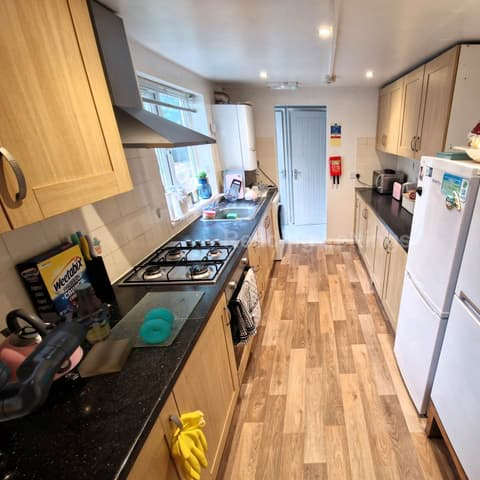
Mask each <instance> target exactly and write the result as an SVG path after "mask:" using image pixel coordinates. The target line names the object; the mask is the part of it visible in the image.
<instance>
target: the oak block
mask: <svg viewBox="0 0 480 480" xmlns="http://www.w3.org/2000/svg"><path fill="white" fill-rule="evenodd" d="M133 349H134V345H133V341H132V339H131V337H129V338H124V339H117V340H110V341H102V342H100V343H93V345H92V347H91V349H90V350H89V352H87V354H86V356H85V357H84V359H83V360H82V361H81V363H80V364H79V366H77V372H78V373H79V375H80V377H81V379H83V378H88V377H94V376H98V375H105V374H110V373H115V372H121V371H122V370H123V367H124V366H125V364H126V362H127V360H128V357H129V356H130V354H131V353H132V350H133Z"/></svg>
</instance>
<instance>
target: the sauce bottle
mask: <svg viewBox="0 0 480 480" xmlns="http://www.w3.org/2000/svg"><path fill="white" fill-rule="evenodd" d="M73 292H74V293H75V294H76V297H77V307H76V308H77V314H78V318H81V317H84V316H86V315H88V314H89V313H91V312H92V313H94V312H96V311H97V310H98V309H99V308H100V307H101V305H102V304H103V303H102V300H100V298H98V297H96V296H95V293H94V291H93V286H92V283H91V282H82V283H79V284H77V285H75V286H74V287H73ZM98 316H99V314H97V317H98ZM90 319H91V317H90ZM91 320H92V319H91ZM111 335H112V330H111V326H110V322H109V321H108V322H107V324H106V326H105V327H103V328H100V326H96V327H93V328H92V329H91V330H89V331H88V334H87V336H86V338H85V340H87V341H88V343H90V344H97V343H103V342H106V341H107V340H108V339H109V338H110V337H111Z"/></svg>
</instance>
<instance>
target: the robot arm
mask: <svg viewBox="0 0 480 480" xmlns="http://www.w3.org/2000/svg"><path fill="white" fill-rule="evenodd" d="M97 314H99V316H98V317H97ZM90 317H91V319H92V320H91V319H90ZM110 318H111V313H110V306H109V304H108V302H103V303H102V305H101V307H100V308H99V309H98V310H97V311H96V312H94V313H92V312H91V313H89V314H88V315H86V316H84V317H81V318H79V317H78V314H77V307H75V308H74V309H73V310H72V311H71V312H69V313H67V314H66V315H64V314H60V315H58V316H57V317H56V318H55V319H53V320H52V321H51V322H50V323H48V325H46V326H45V327H44V329H45V332H46V336H44V338H43V339H41V341H40V342H39V343H38V344H37V345H36V346H35V348H34V349H33V350H32V351H31V352H30V353H29V355H28V356H26V357H25V359H24V360H22V361H21V363H19V365H18V367H17V368H16V370H15V377H16V379H17V380H16V381H15V380H14V381H11V382H9V381H10V380H11V377H12V369H11V367H10V366H9V364H7V362H5V360H3V359H2V358H0V422H1V423H2V422H5V421H10V420H14V419H15V420H16V419H19V418H24V417H26V416H29V415H31V414H33V413H34V412H36V411H37V410H38V409H39V408H41V406H43V405H44V403H45V402H46V400H47V398H48V396H49V393H50V390H51V388H52V385H53V382H54V380H55V378H56V375H57V373H58V372H59V371H60V370H61V369H62V367H63V366H64V364H65V363H66V362H67V361H68V360H69V359H70V358H71V357H72V356H73V355H74V353H75V352H76V351H77V350H78V348H79V347H80V346H81V345H82V343H84V341H85V340H86V336H87V334H88V331H89V330H91V329H92V328H93V327H96V326H100V328H103V327H105V326H106V324H107V322H109V320H110Z"/></svg>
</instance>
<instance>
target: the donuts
mask: <svg viewBox="0 0 480 480" xmlns="http://www.w3.org/2000/svg"><path fill="white" fill-rule="evenodd" d="M174 322H175V316H174V313H173V312H172V311H171V310H169V309H168V308H164V307H156V308H154V309H152V310H149V311H148V312H147V313H146V314H145V317H144V323H143V324H142V325H141V327H140V328H139V336H140V338H141V339H142V340H143V341H144V342H145V343H149V344H160V343H162V342H164V341H166V340H167V339H169V337H170V336H171V333H172V325H173V324H174Z"/></svg>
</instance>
